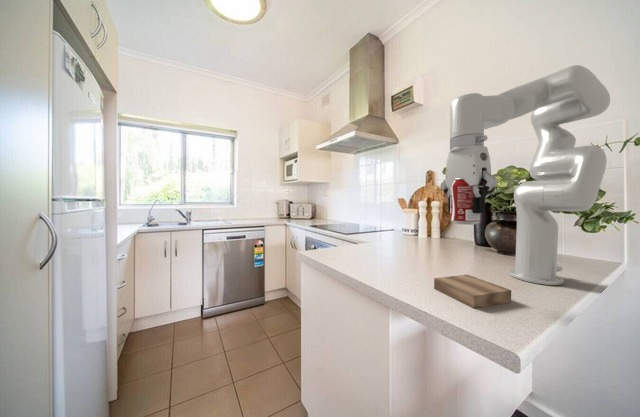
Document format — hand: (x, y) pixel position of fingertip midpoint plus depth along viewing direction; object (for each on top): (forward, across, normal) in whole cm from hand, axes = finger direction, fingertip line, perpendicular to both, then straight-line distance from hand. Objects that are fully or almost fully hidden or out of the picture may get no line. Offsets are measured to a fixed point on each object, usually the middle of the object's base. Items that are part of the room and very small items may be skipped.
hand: (465, 211), depth 59 cm
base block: (+22, -1, 0) cm, 22 cm away
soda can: (+3, 0, 0) cm, 3 cm away
